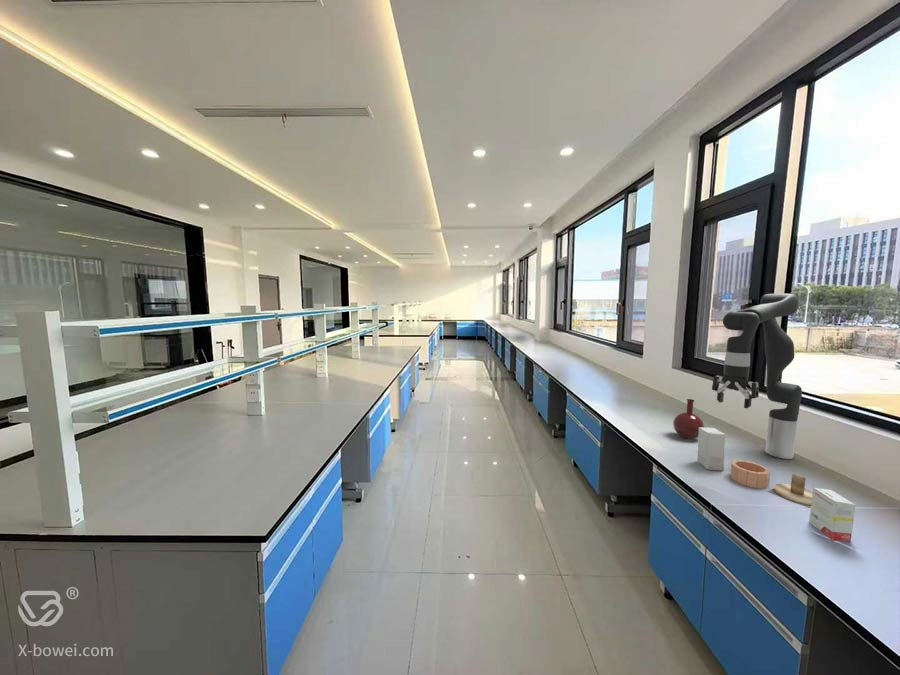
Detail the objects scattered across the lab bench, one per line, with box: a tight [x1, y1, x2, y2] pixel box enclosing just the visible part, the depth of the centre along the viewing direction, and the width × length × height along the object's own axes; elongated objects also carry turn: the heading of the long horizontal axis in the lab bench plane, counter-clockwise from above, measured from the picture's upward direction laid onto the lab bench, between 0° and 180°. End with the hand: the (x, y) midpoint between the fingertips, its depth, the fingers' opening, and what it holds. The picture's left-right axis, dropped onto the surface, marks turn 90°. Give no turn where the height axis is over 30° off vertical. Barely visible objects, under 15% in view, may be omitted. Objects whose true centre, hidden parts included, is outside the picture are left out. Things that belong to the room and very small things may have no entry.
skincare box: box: [696, 427, 726, 472], centre depth 146 cm, size 8×7×16 cm
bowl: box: [729, 459, 771, 489], centre depth 134 cm, size 11×11×6 cm
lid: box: [773, 473, 813, 505], centre depth 123 cm, size 12×12×7 cm
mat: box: [767, 487, 811, 509], centre depth 123 cm, size 12×12×1 cm
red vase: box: [672, 398, 706, 440], centre depth 176 cm, size 13×13×20 cm
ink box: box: [808, 487, 856, 542], centre depth 104 cm, size 9×5×12 cm, turn 168°
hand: (733, 405), depth 135 cm, fingers open, 8 cm apart
